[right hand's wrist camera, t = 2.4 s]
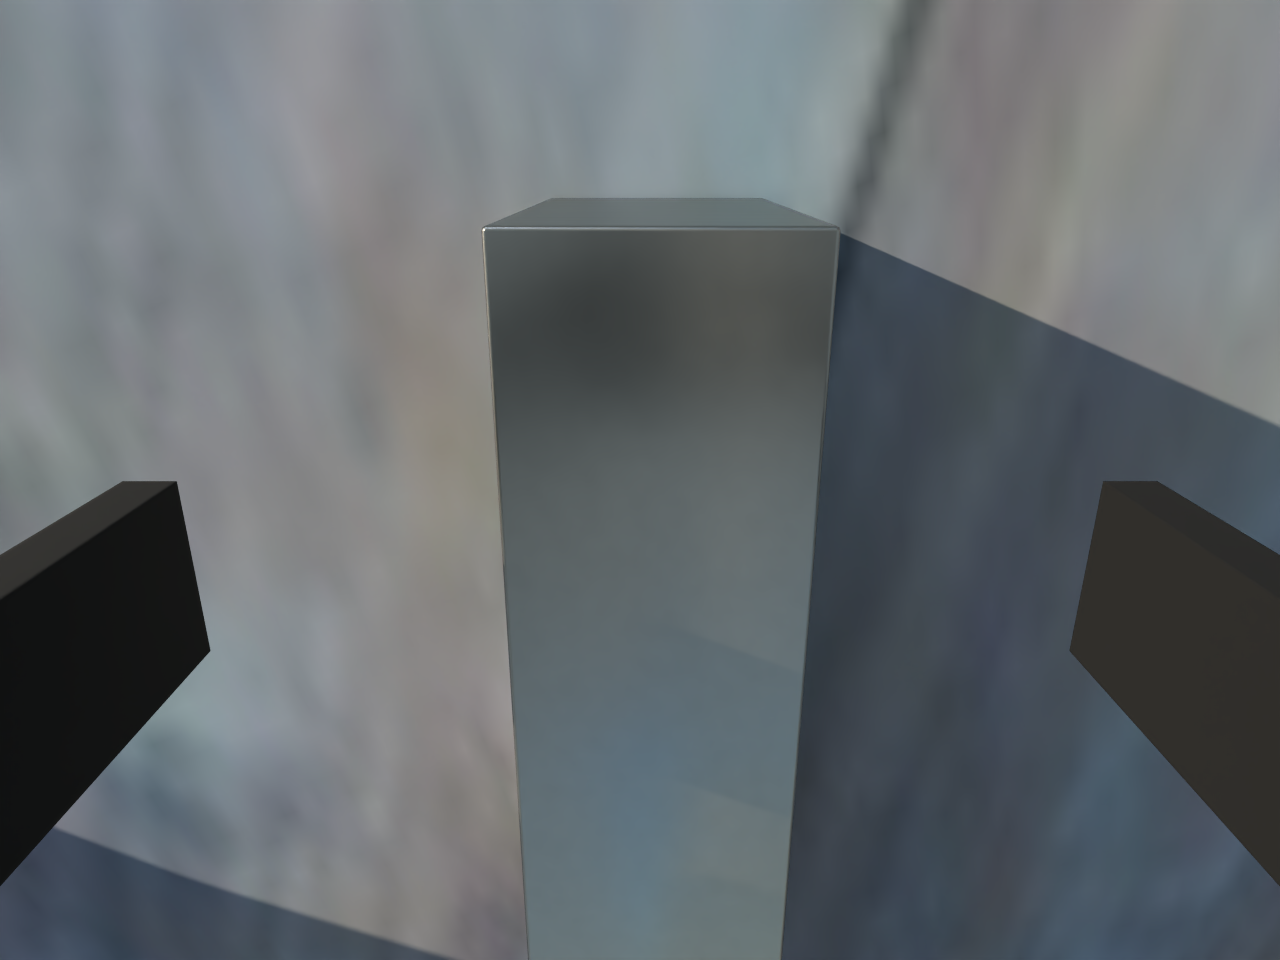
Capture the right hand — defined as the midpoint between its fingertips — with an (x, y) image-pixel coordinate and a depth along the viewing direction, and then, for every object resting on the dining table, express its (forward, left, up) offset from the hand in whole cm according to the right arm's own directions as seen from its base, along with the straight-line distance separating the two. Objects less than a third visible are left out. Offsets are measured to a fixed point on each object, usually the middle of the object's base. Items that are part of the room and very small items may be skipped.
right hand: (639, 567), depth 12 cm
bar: (+3, +13, -9) cm, 16 cm away
